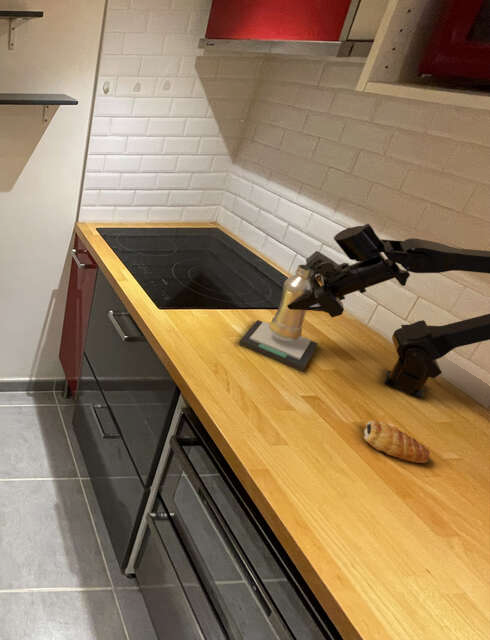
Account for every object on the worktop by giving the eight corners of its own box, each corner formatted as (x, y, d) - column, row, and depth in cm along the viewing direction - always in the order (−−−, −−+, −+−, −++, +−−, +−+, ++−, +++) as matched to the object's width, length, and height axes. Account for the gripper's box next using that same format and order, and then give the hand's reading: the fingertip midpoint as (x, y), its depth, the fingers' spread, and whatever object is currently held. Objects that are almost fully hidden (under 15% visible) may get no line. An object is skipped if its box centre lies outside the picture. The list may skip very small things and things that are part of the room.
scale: (256, 323, 125) (258, 317, 124) (316, 347, 116) (319, 341, 115) (238, 344, 116) (240, 338, 115) (302, 371, 107) (305, 365, 106)
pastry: (423, 449, 87) (432, 435, 85) (428, 473, 82) (438, 459, 81) (361, 425, 92) (369, 411, 91) (363, 446, 87) (370, 432, 86)
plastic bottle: (299, 348, 110) (327, 277, 102) (266, 339, 113) (291, 269, 105) (297, 334, 115) (324, 266, 107) (266, 326, 118) (290, 259, 110)
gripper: (335, 232, 108) (268, 261, 118) (343, 261, 94) (266, 291, 104) (365, 270, 108) (295, 295, 118) (377, 304, 93) (296, 330, 104)
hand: (288, 301), depth 111 cm, fingers closed on plastic bottle, 6 cm apart
